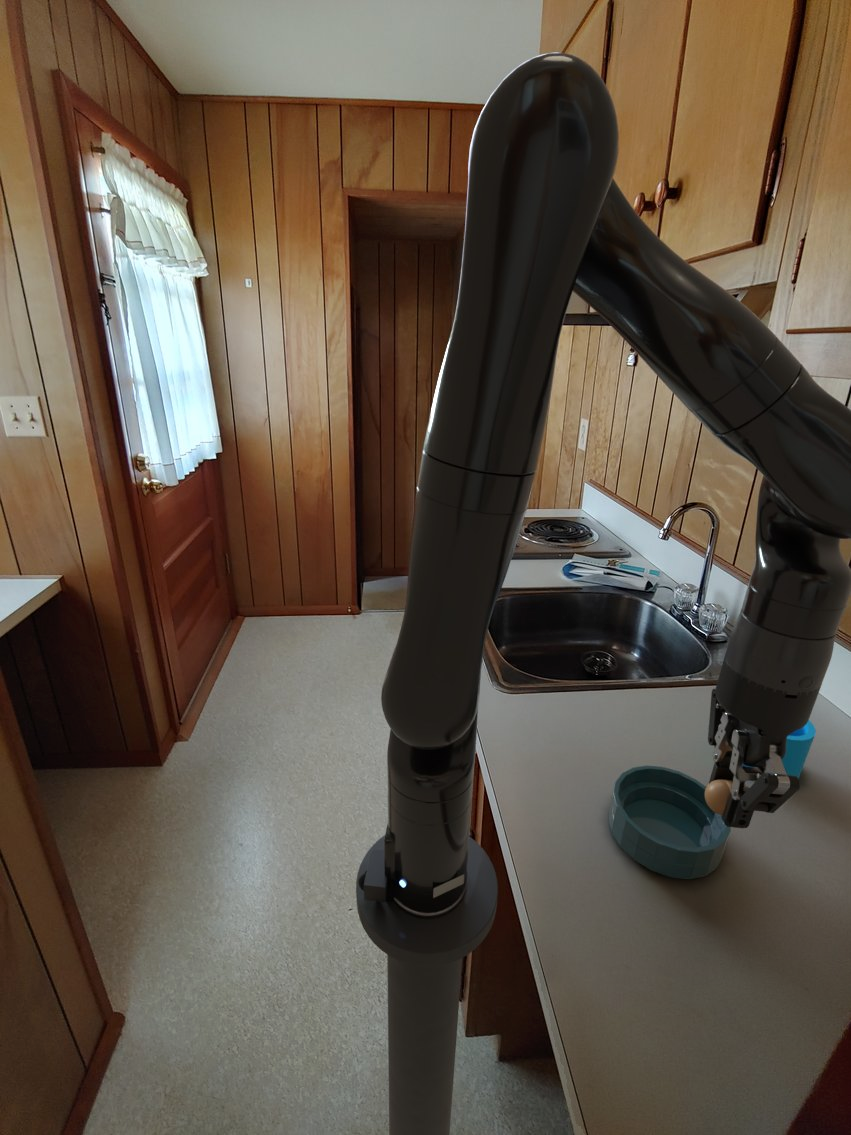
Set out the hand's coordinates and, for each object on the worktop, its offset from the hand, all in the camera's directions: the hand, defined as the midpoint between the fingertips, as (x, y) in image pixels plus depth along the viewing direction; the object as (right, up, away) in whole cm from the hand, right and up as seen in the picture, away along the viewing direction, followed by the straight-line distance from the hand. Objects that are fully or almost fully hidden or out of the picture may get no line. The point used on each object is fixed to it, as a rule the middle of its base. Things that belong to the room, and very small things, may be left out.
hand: (726, 808), depth 56 cm
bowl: (-1, -9, +14) cm, 17 cm away
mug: (+18, -5, +25) cm, 31 cm away
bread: (0, 0, 0) cm, 0 cm away
